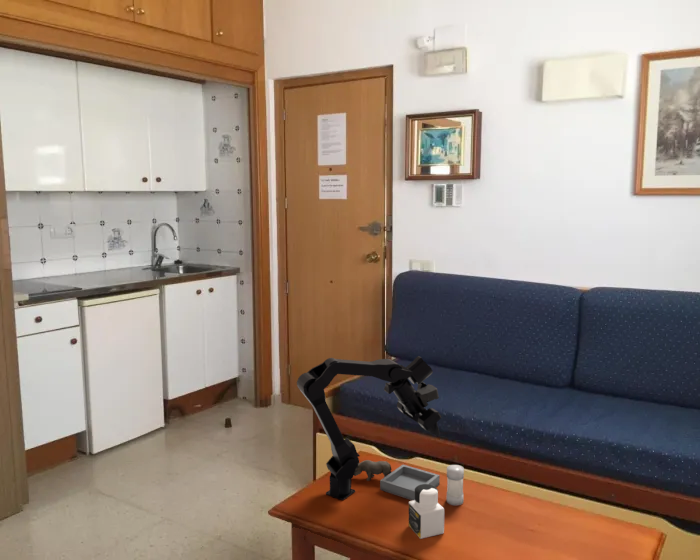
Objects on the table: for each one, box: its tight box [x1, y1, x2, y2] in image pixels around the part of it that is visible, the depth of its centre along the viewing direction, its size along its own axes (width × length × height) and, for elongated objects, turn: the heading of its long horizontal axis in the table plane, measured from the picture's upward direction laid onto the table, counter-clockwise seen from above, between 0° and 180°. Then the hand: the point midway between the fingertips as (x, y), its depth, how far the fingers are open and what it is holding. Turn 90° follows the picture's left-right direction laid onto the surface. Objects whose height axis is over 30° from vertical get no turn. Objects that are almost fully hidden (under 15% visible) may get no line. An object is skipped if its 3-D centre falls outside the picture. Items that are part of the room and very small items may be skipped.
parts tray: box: [379, 464, 441, 501], centre depth 194 cm, size 13×13×3 cm
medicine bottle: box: [408, 484, 445, 540], centre depth 170 cm, size 7×7×12 cm
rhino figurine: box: [353, 459, 392, 482], centre depth 200 cm, size 4×14×6 cm, turn 81°
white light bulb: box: [446, 464, 465, 506], centre depth 185 cm, size 5×5×10 cm
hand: (431, 430), depth 200 cm, fingers open, 9 cm apart
